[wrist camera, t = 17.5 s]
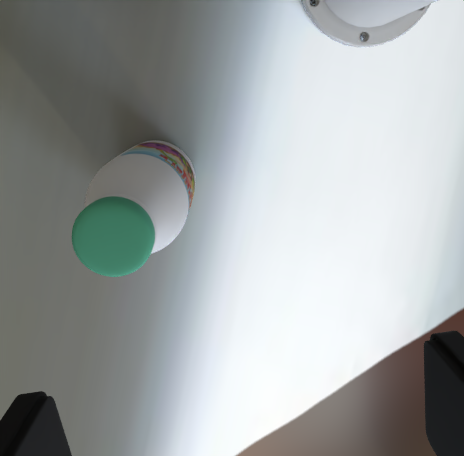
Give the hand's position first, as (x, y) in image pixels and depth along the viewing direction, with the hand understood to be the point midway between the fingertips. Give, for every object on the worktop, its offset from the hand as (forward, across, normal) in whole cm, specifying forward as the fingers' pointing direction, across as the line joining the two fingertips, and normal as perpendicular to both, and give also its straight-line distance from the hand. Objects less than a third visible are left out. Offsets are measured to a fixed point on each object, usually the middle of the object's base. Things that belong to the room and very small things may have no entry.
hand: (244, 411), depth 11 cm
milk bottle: (+34, +7, -1) cm, 35 cm away
